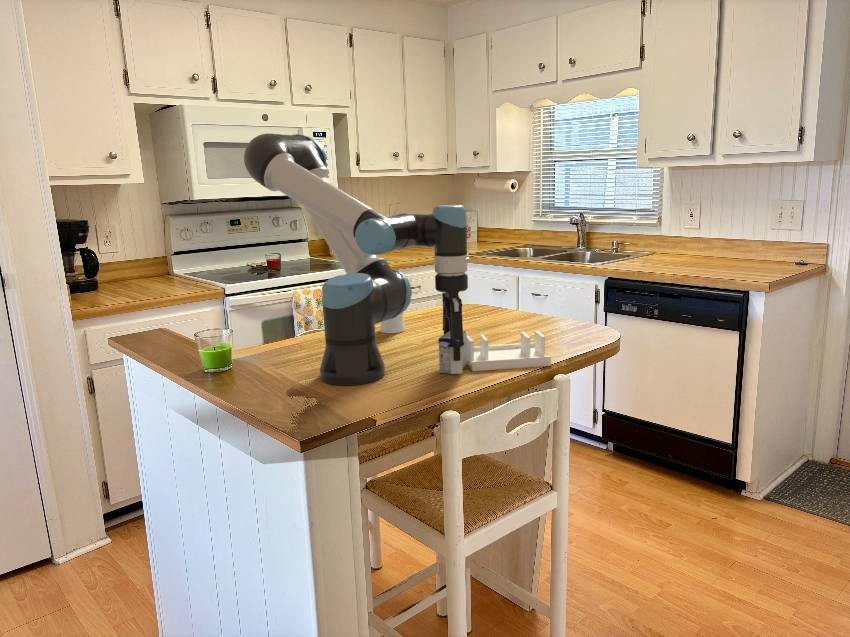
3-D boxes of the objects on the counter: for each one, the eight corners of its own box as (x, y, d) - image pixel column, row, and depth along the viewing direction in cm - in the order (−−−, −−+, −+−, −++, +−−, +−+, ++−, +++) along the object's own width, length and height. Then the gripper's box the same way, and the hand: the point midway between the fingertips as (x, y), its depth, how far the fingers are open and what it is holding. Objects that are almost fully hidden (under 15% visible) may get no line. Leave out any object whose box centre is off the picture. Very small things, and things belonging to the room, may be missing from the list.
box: (449, 363, 156) (449, 329, 154) (467, 365, 154) (466, 330, 152) (438, 373, 149) (437, 337, 147) (457, 374, 147) (456, 338, 145)
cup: (416, 328, 194) (414, 279, 191) (396, 336, 186) (394, 285, 182) (388, 325, 200) (386, 278, 197) (367, 332, 191) (364, 283, 188)
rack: (472, 371, 150) (471, 345, 148) (462, 355, 163) (461, 331, 162) (550, 365, 152) (551, 340, 150) (534, 350, 165) (534, 327, 164)
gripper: (476, 279, 136) (477, 380, 141) (459, 266, 157) (461, 354, 162) (441, 281, 136) (444, 382, 141) (429, 267, 156) (432, 356, 161)
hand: (453, 367), depth 151 cm, fingers closed on box, 9 cm apart
